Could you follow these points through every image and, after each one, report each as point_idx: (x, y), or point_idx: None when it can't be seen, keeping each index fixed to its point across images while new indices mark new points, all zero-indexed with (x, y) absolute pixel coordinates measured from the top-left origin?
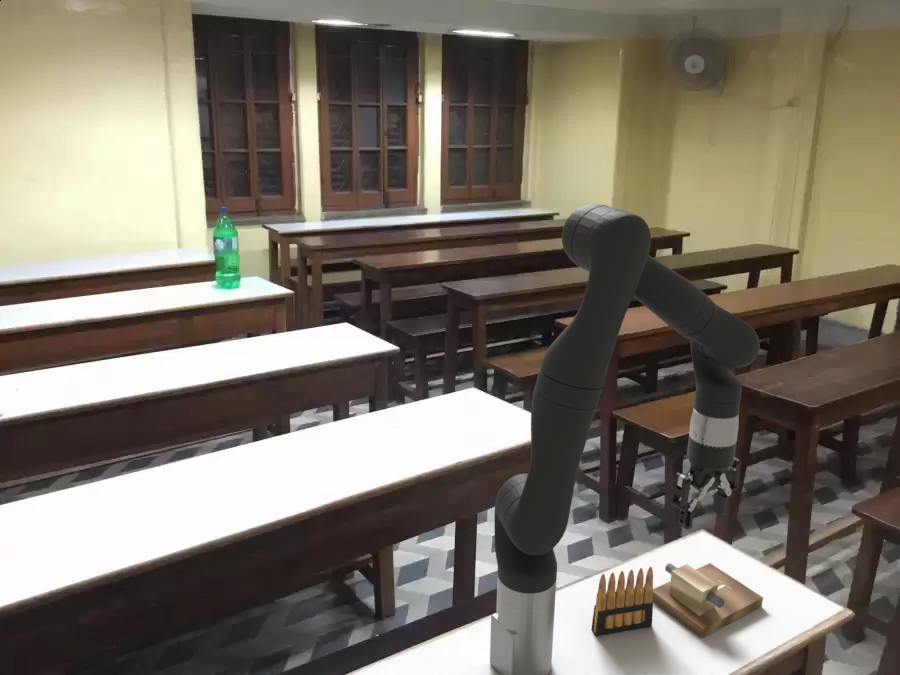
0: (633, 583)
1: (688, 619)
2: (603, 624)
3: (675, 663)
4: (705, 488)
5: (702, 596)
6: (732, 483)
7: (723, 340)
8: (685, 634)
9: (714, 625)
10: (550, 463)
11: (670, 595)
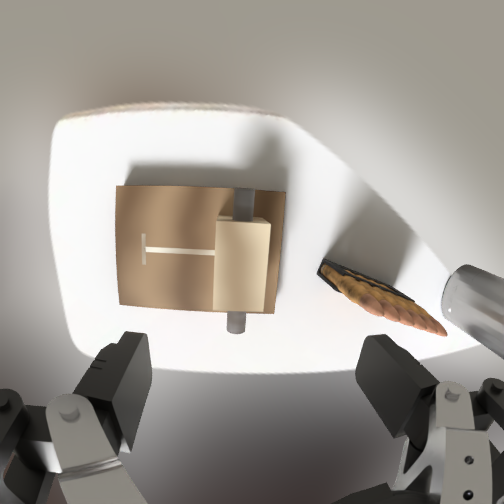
0: (397, 306)
1: (282, 225)
2: (396, 290)
3: (357, 184)
4: (473, 500)
5: (267, 222)
6: (14, 441)
7: None
8: (295, 214)
9: None
10: None
11: None
